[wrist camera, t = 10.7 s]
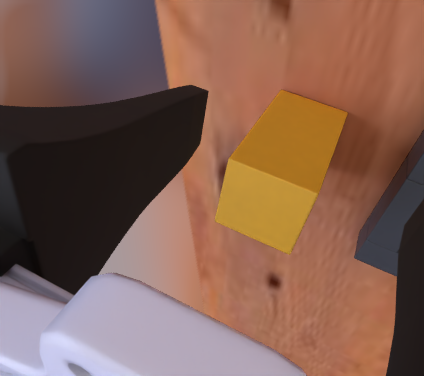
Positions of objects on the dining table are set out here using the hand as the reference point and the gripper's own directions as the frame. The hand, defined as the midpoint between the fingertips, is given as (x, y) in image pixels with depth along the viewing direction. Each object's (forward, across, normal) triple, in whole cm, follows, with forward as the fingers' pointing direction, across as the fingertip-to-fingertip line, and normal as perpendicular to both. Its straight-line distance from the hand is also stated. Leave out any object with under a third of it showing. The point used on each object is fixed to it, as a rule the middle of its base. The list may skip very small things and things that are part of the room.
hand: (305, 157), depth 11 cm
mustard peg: (+10, +1, +5) cm, 12 cm away
